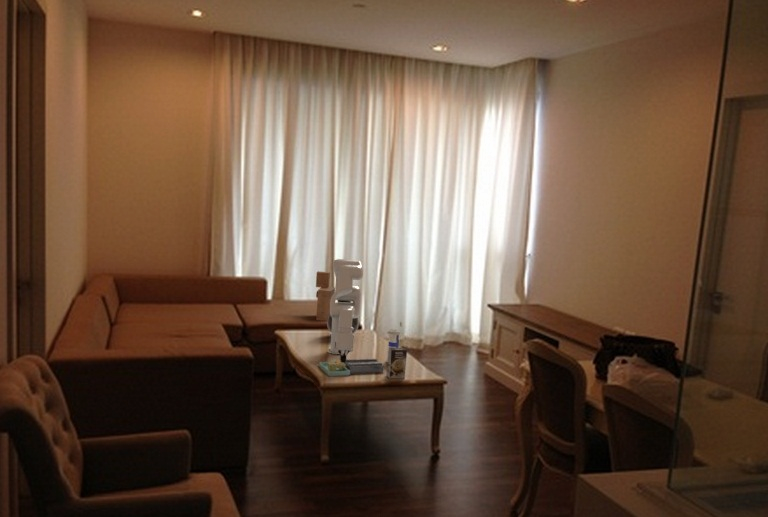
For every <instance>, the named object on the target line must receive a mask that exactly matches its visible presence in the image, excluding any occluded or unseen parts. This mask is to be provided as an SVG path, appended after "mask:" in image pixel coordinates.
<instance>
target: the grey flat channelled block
mask: <svg viewBox="0 0 768 517" xmlns="http://www.w3.org/2000/svg"><path fill="white" fill-rule="evenodd" d="M343 363H344V364H346V366H345V367H346V368H347V369H348V370H349V371H350V375H356V373H361V374H375V373H374V372H383V373H384V365H383V362H379V361H378V358H356V359H355V358H352V359H351V358H350V359H347V358H346V361H345V362H343Z"/></svg>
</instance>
